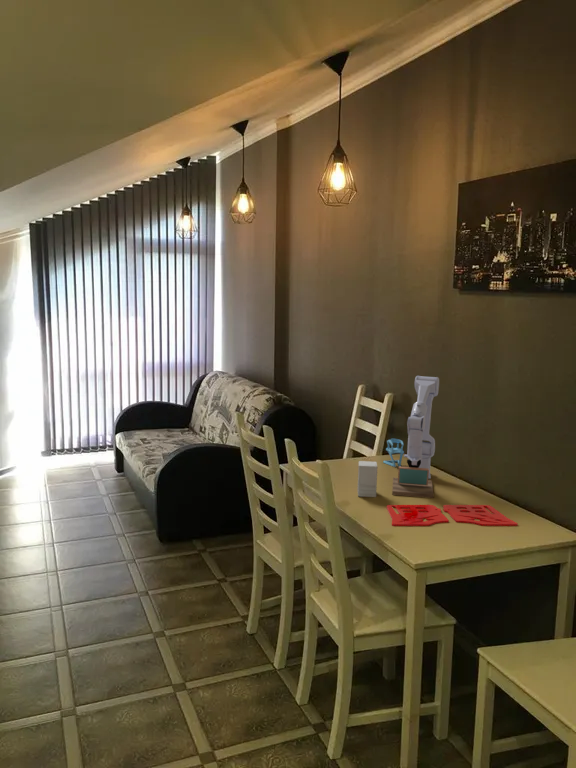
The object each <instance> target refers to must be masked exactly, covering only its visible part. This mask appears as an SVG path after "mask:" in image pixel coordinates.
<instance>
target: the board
mask: <svg viewBox="0 0 576 768" xmlns="http://www.w3.org/2000/svg"><path fill="white" fill-rule="evenodd" d="M433 487H434V486H433V480H430V479H428V485H415V484H402V483H398V477H393V478H392V492H391V494H392V495H393V496H394V495H395V496H403V497H404V496H406V497H416V498H418V497H419V498H429V499H434V489H433Z"/></svg>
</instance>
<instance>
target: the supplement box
mask: <svg viewBox="0 0 576 768" xmlns="http://www.w3.org/2000/svg"><path fill="white" fill-rule="evenodd" d="M357 468H358V474H357V475H358V476H357V496H358V497H364V498H365V497H366V498H376V497H377V490H378V489H377V488H378V487H377V483H378V462H377V461H371V460H370V461H366V460H359V461H358V467H357Z"/></svg>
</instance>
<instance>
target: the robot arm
mask: <svg viewBox="0 0 576 768" xmlns="http://www.w3.org/2000/svg"><path fill="white" fill-rule="evenodd" d="M439 388H440V378H439V376H436V377H435V376H421V375H416V376H415V378H414V389H415V392H416V395H417V400H416V402H414V403H413V405H412V409H411V411H410V412H411V413H410V416H408V418H407V421H406V425H407V435H408V436H407V437H408V438H407V449H406V450H407V453H406V454H405V453H404V454H403V457H404V458H406V463H407V465H408V466H407V467H415V468H428V469H429V475H428V480H430V479H431V478H432V477H431V462H432V461H431V459H432V457H433V456H435V451H436V440H435V438H434V436H432V435H431V433H430V428H431V417H432V416H431V415H432V407H433V405H432V404H433V400H434V397H438V394H439Z"/></svg>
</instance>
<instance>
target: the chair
mask: <svg viewBox="0 0 576 768" xmlns="http://www.w3.org/2000/svg"><path fill="white" fill-rule="evenodd" d="M386 444H387V447H386V448H385V451H387V453H388V454H389V457H390V459H389V460H383V463H384V464H386V465H388V466H391V467H393V468H396V467H399V466H401V467H402V461H403V460H402V459H403V457H404V454H405V450H403V447H404V441H403V440H401V439H398V438H390V439H388V440H386ZM394 444H396V447H394ZM399 444H401V447H400V445H399ZM390 446H391V447H390ZM393 454H399V459H395V460H394V457H393ZM396 463H397V466H396Z"/></svg>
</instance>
